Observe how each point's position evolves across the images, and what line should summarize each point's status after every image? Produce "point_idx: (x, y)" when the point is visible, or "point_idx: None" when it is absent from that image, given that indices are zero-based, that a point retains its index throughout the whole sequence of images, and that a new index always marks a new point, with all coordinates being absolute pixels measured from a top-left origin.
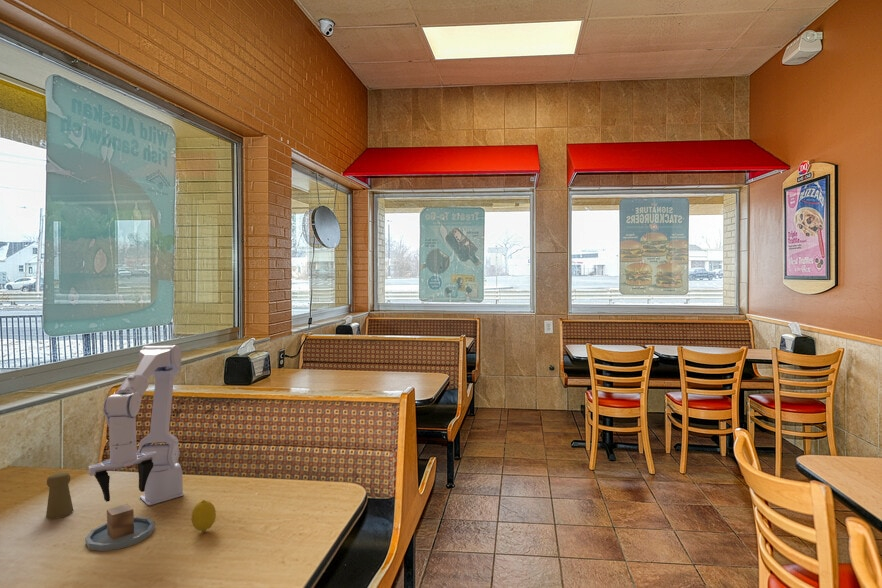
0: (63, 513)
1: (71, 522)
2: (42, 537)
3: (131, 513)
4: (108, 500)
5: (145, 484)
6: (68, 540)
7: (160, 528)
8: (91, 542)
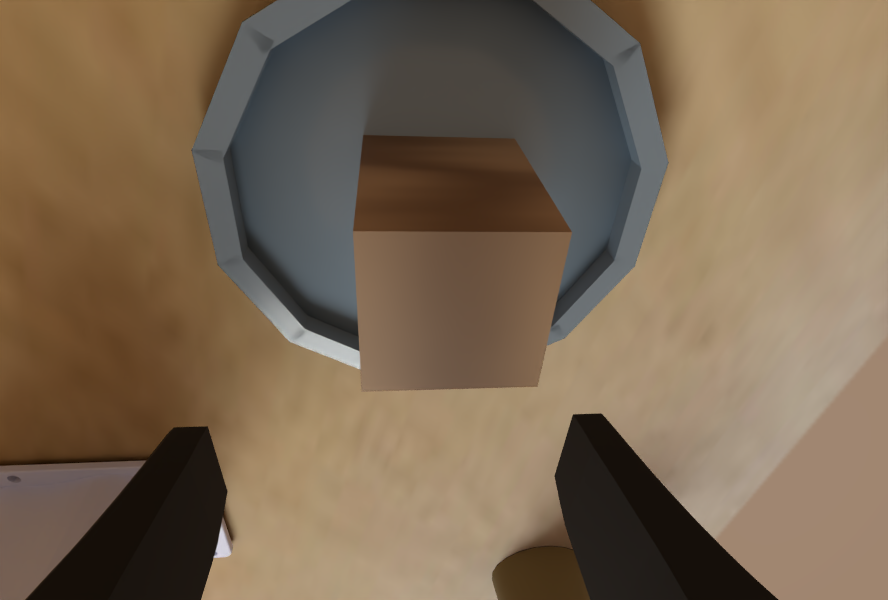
0: (544, 561)
1: (544, 494)
2: (684, 440)
3: (375, 210)
4: (588, 421)
5: (110, 505)
6: (644, 345)
7: (159, 90)
8: (650, 168)
